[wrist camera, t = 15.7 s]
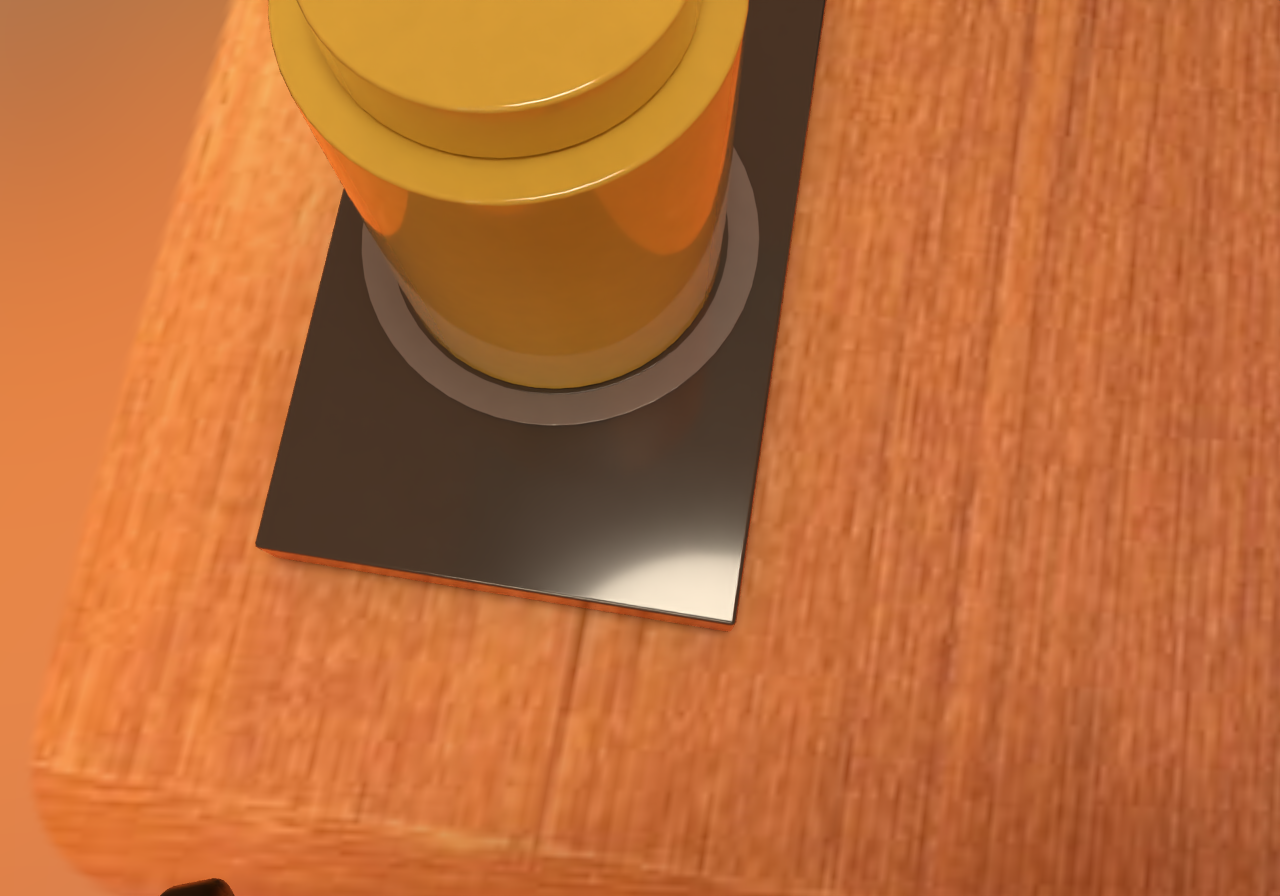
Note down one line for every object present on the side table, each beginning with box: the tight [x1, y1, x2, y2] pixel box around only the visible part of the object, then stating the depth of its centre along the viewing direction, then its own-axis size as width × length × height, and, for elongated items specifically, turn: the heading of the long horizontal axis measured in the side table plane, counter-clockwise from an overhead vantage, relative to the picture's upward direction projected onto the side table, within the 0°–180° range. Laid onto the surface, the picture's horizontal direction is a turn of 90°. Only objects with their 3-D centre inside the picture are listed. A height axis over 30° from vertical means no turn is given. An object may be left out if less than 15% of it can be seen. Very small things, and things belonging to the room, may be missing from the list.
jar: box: [268, 0, 749, 389], centre depth 19 cm, size 6×6×9 cm
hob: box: [255, 0, 827, 632], centre depth 24 cm, size 14×9×1 cm, turn 171°
